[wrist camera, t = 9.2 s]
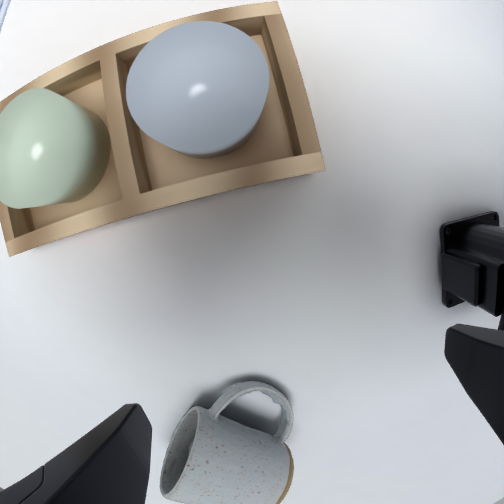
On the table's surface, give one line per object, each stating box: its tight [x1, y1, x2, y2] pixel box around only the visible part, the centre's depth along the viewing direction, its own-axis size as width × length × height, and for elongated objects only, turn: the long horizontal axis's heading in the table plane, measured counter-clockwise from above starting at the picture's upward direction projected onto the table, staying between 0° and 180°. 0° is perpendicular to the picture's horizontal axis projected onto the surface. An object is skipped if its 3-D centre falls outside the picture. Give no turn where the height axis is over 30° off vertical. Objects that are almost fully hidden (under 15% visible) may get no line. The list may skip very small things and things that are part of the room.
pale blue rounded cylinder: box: [126, 21, 269, 159], centre depth 14 cm, size 6×6×5 cm
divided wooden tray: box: [0, 1, 325, 257], centre depth 16 cm, size 20×10×3 cm, turn 103°
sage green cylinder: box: [0, 88, 110, 209], centre depth 14 cm, size 6×6×5 cm
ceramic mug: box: [160, 381, 294, 504], centre depth 18 cm, size 11×8×8 cm
